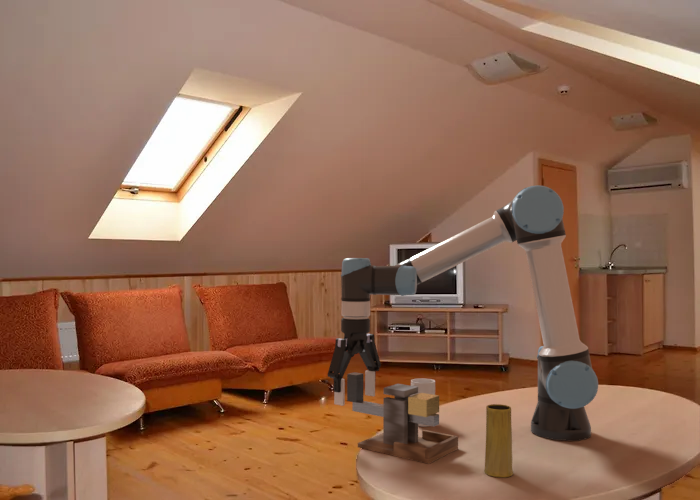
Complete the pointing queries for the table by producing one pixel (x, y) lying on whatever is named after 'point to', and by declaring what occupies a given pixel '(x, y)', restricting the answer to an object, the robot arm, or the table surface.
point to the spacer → (423, 404)
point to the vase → (498, 441)
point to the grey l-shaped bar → (374, 408)
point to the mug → (424, 388)
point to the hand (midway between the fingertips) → (355, 400)
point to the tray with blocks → (407, 431)
